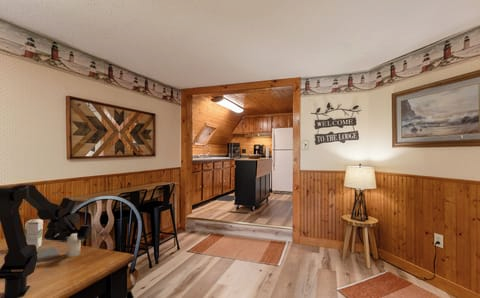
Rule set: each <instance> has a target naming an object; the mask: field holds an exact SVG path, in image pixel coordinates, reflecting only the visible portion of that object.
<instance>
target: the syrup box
mask: <svg viewBox="0 0 480 298" xmlns="http://www.w3.org/2000/svg"><path fill="white" fill-rule="evenodd" d="M43 229H44V220H41V219H40V218H35V219H34V218H33V219H30V220H27V221H26V222H25V225H24V233H25V237H26V241H27V244H28V245H35V246H36V250H39V248H40V247H42V245H43V233H44V231H43Z"/></svg>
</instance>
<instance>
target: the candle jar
mask: <svg viewBox="0 0 480 298" xmlns="http://www.w3.org/2000/svg"><path fill="white" fill-rule="evenodd" d="M77 234H78V233H77ZM77 234H71V236H70V237H67V241H66V254H65V256H66V258H73V257H78V256H79V255H81V247H82V246H81V243H82V241H81V240H77V239H78V238H77Z"/></svg>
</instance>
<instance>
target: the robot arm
mask: <svg viewBox="0 0 480 298" xmlns="http://www.w3.org/2000/svg"><path fill="white" fill-rule="evenodd" d="M23 201H25V202H27V203H28V204H29V205H30V206H32V207H33V208H34V209H35V210H36V211H37V212H36V215H37V216H38V217H39V218H38V219H41V220H43V221H48V223H47V225H46V229H47V230H46V232H44V235H43V238H44V239H45V240H49V241H60V242H67V237H70V236H71V234H77V233H78V234H77V238H78V239H77V240H81V242H85V240H86V239H88V238H89V235H90V233H91V231H92V226H91V225H90V224H83V225H82V224H81V226H80V227H77V224H78V222H79V221H80V219H81V218H80V214H79V213H78V212H77V213H76V212H75V213H74V212H73V211H74V208H75V207H76V205H77V201H75V200H73V199H70V198H69V197H63V198H62V200H61V202H60V203H59V204H57V203H54V202H51V201H50V200H49V199H48V198H47V197H46V196H44V195H43V193H42V192H40V191H39V189H37V186H36V185H34V184H29V183H26V184H24V183H21V184H16V185H13V186H0V224H1V228H2V232H3V235H4V239H5V243H6V247H7V252H6V253H5V255H4V257H3V260H4V261H3V262H4V263H3V264H1V267H0V280H4V293H3V294H2V295H1V296H0V298H19V297H23V296H25V295H26V294H27V292H28V291H29V289H30V288H31V285H27V284H28V282H27V281H28V277H29V276H31V275H32V274H33V273H35V269H36V265H37V263H38V262H37V254H38V252H37V251H36V250H37V249H36V246H35V245H28V244H27V241H26V237H25V228H24V226H23V221H22V217H21V214H20V210H19V209H20V207H21V205H22V204H23Z"/></svg>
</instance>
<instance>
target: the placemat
mask: <svg viewBox="0 0 480 298" xmlns="http://www.w3.org/2000/svg"><path fill="white" fill-rule="evenodd" d="M36 251H37V252H38V254H37V263H38V262H42V261H46V260H51V259H54V258H55V259H56V258H58V257H61V255H60V253H59V251H58V250H57V249H56V247H55V246H53V245H52V246H49V247H45V248H41V249H39V248H38V249H36Z"/></svg>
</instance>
